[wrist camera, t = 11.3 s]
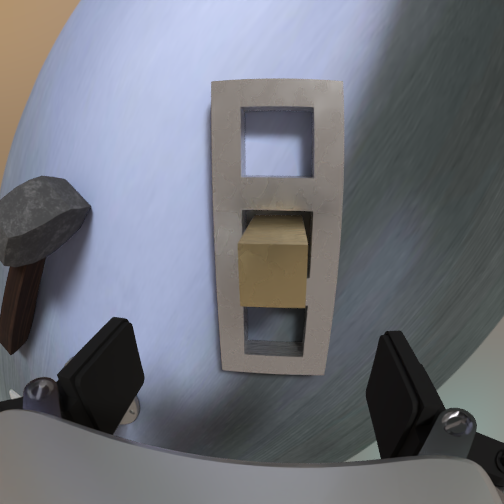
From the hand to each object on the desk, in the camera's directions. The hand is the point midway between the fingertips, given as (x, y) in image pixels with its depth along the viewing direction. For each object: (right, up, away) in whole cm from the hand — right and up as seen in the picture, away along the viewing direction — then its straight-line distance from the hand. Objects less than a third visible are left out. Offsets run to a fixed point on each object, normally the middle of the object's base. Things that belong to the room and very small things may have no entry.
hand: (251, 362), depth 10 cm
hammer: (-27, +1, +21) cm, 34 cm away
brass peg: (+2, +5, +16) cm, 17 cm away
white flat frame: (+2, +5, +16) cm, 17 cm away
